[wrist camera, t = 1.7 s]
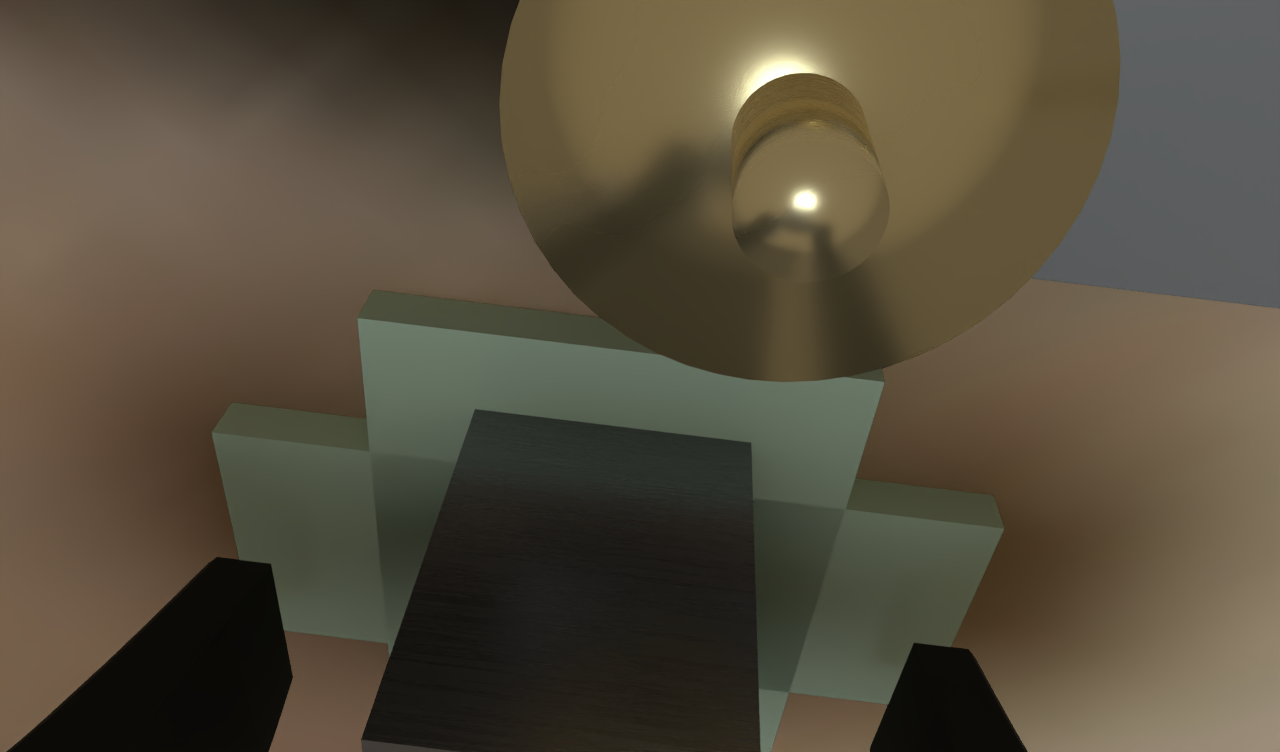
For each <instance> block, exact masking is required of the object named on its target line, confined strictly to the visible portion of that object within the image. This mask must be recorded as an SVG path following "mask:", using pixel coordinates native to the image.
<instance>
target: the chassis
mask: <svg viewBox="0 0 1280 752" xmlns="http://www.w3.org/2000/svg"><path fill="white" fill-rule="evenodd" d="M499 105H500V122H501V140H502V146H503V151H504V156H505V161H506V166H507V171H508V176H509V179H510V182H511V185H512V188H513V191H514V194H515V197H516V200H517V203H518V206H519V209H520V212H521V214H522V216H523V218H524V220H525V222H526V224H527V226H528V228H529V230H530V232H531V234H532V236H533V238H534V240H535V242H536V244H537V245H538V247H539V248H540V250H541V251H542V253H543V254H544V256H545V257H546V259H547V260H548V262H549V263H550V265H551V266H552V268H553V269H554V271H555V272H556V273H557V274H558V275H559V276H560V278H561V279H562V280H563V281H564V282H565V284H566V285H567V286H568V287H569V288H570V289H571V291H572V292H573V293H574V294H575V295H576V296H577V297H578V298H579V299H580V300H581V301H582V302H584V303H585V304H586V305H587V306H588V307H589V308H590V309H591V310H592V311H593V312H594V313H595V314H597V315H598V316H599V317H600V318H601V319H603V320H604V321H606V322H607V323H608V324H610V325H611V326H612V327H614V328H615V329H617V330H618V331H619V332H621V333H622V334H624V335H625V336H626V337H628V338H630V339H632V340H634V341H635V342H637V343H639V344H641V345H643V346H644V347H646V348H648V349H650V350H652V351H653V352H655V353H658V354H660V355H663V356H665V357H667V358H670V359H672V360H675V361H677V362H679V363H682V364H684V365H687V366H691V367H694V368H698V369H701V370H705V371H708V372H711V373H715V374H719V375H725V376H731V377H736V378H742V379H748V380H759V381H774V382H800V381H819V380H827V379H834V378H841V377H848V376H853V375H857V374H861V373H865V372H869V371H873V370H877V369H881V368H885V367H888V366H891V365H893V364H896V363H899V362H902V361H904V360H907V359H910V358H913V357H916V356H918V355H920V354H922V353H924V352H926V351H928V350H931V349H933V348H935V347H937V346H939V345H941V344H943V343H945V342H947V341H949V340H951V339H953V338H954V337H956V336H957V335H959V334H961V333H962V332H964V331H965V330H967V329H969V328H970V327H972V326H974V325H975V324H977V323H978V322H980V321H981V320H983V319H984V318H985V317H987V316H988V315H989V314H990V313H992V312H993V311H994V310H996V309H997V308H998V307H999V306H1001V305H1002V304H1003V303H1005V302H1006V301H1007V300H1008V299H1010V298H1011V297H1012V296H1013V295H1014V294H1015V293H1016V292H1017V291H1018V290H1019V289H1020V288H1021V287H1022V286H1023V285H1024V284H1025V283H1026V282H1027V281H1028V280H1029V279H1030V278H1033V279H1041V280H1050V281H1058V282H1066V283H1074V284H1083V285H1091V286H1099V287H1107V288H1116V289H1124V290H1132V291H1140V292H1148V293H1157V294H1165V295H1173V296H1181V297H1190V298H1198V299H1206V300H1214V301H1223V302H1231V303H1239V304H1247V305H1255V306H1264V307H1272V308H1280V0H520V1H519V4H518V7H517V10H516V12H515V15H514V18H513V21H512V23H511V27H510V31H509V36H508V41H507V45H506V50H505V55H504V59H503V64H502V76H501V89H500V102H499Z"/></svg>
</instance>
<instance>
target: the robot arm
mask: <svg viewBox="0 0 1280 752" xmlns="http://www.w3.org/2000/svg"><path fill="white" fill-rule="evenodd" d="M292 678H293V676H292V671H291V665H290V660H289V655H288V650H287V644H286V639H285V634H284V629H283V623H282V618H281V613H280V608H279V603H278V597H277V592H276V587H275V582H274V576H273V571H272V566H271V564H269V563H261V562H253V561H245V560H237V559H229V558H220V557H217V558H215V559H214V560H212V561H211V562H209V563H208V564H207V565H206V566H205V567H204V568H203V569H202V570H201V571H200V572H199V573H198V574H197V575H196V576H195V577H194V578H193V579H192V580H191V581H190V582H189V583H188V584H187V585H186V586H185V587H184V588H183V589H182V590H181V591H180V592H179V593H178V594H177V595H176V596H175V597H174V598H173V599H172V600H171V601H170V602H168V603H167V604H166V605H165V606H164V607H163V608H162V609H161V610H160V611H159V612H158V613H157V614H156V615H155V616H154V617H153V618H152V619H151V620H150V621H149V622H148V623H147V624H146V625H145V626H144V627H143V628H142V629H141V630H140V631H139V632H138V633H137V634H136V635H135V636H133V637H132V638H131V639H130V640H129V641H128V642H127V643H126V644H125V645H124V646H123V647H122V648H121V649H120V650H119V651H118V652H117V653H116V654H115V655H114V656H113V657H111V658H110V659H109V660H108V661H107V662H106V663H105V664H104V665H103V666H102V667H101V668H100V669H99V670H98V671H96V672H95V673H94V674H93V675H92V676H91V677H90V678H89V679H88V680H87V681H86V682H84V683H83V684H82V685H81V686H80V687H79V688H78V689H77V690H76V691H75V692H74V693H72V694H71V695H70V696H69V697H68V698H67V699H66V700H65V701H64V702H63V703H62V704H60V705H59V706H58V707H57V708H56V709H55V710H54V711H53V712H52V713H51V714H50V715H48V716H47V717H46V718H45V719H44V720H43V721H42V722H41V723H39V724H38V725H37V726H36V727H35V728H34V729H33V730H32V731H30V732H29V733H28V734H27V735H26V736H25V737H23V738H22V739H21V740H20V741H19V742H18V743H16V744H15V745H14V746H13V747H12V748H11V749H9V750H8V751H7V752H269V749H270V746H271V743H272V740H273V737H274V734H275V731H276V728H277V725H278V722H279V719H280V716H281V713H282V710H283V707H284V703H285V700H286V697H287V694H288V691H289V688H290V685H291V681H292ZM870 752H1027V750H1026V748H1025V746H1024V745H1023V743H1022V741H1021V740H1020V738H1019V736H1018V734H1017V732H1016V731H1015V729H1014V727H1013V725H1012V724H1011V722H1010V720H1009V718H1008V717H1007V715H1006V713H1005V711H1004V709H1003V708H1002V706H1001V704H1000V702H999V700H998V699H997V697H996V695H995V693H994V691H993V689H992V688H991V686H990V684H989V682H988V680H987V679H986V677H985V675H984V673H983V671H982V669H981V668H980V666H979V664H978V662H977V660H976V658H975V657H974V656H973V654H972V653H971V652H970V651H969V649H962V648H953V647H945V646H937V645H929V644H921V643H913V646H912V648H911V651H910V653H909V656H908V658H907V660H906V663H905V665H904V668H903V670H902V672H901V675H900V677H899V680H898V682H897V684H896V687H895V689H894V692H893V694H892V697H891V699H890V701H889V704H888V706H887V709H886V711H885V713H884V716H883V718H882V721H881V723H880V725H879V728H878V730H877V733H876V735H875V738H874V740H873V742H872V745H871V747H870Z"/></svg>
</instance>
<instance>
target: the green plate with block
mask: <svg viewBox="0 0 1280 752" xmlns="http://www.w3.org/2000/svg"><path fill="white" fill-rule="evenodd" d="M357 320H358V331H359V342H360V353H361V363H362V374H363V385H364V395H365V406H366V417H367V419H364V418H356V417H348V416H340V415H332V414H323V413H315V412H307V411H299V410H291V409H282V408H274V407H266V406H258V405H250V404H241V403H233V402H232V403H231V404H230V406H229V407H228V409H227V410H226V412H225V413H224V415H223V416H222V418H221V419H220V420H219V422H218V423H217V425H216V426H215V428H214V429H213V431H212V437H213V442H214V446H215V451H216V455H217V460H218V465H219V469H220V474H221V478H222V483H223V487H224V492H225V497H226V501H227V506H228V510H229V515H230V519H231V524H232V529H233V533H234V538H235V542H236V547H237V551H238V556H239V560H245V561H253V562H261V563H269V564H271V566H272V571H273V576H274V582H275V587H276V592H277V597H278V603H279V608H280V613H281V618H282V623H283V629H284V631H290V632H298V633H306V634H314V635H323V636H331V637H339V638H347V639H355V640H363V641H372V642H380V643H388V652H389V660H388V663H387V666H386V669H385V672H384V675H383V678H382V681H381V684H380V686H379V689H378V692H377V695H376V698H375V701H374V704H373V707H372V710H371V713H370V716H369V718H368V721H367V724H366V727H365V730H364V733H363V736H362V739H361V742H362V750H363V752H771V750H772V746H773V743H774V740H775V737H776V733H777V730H778V727H779V724H780V720H781V717H782V714H783V711H784V707H785V704H786V701H787V698H788V694H789V693H797V694H805V695H813V696H822V697H830V698H838V699H846V700H854V701H862V702H871V703H879V704H887V705H888V704H889V701H890V699H891V697H892V694H893V692H894V689H895V687H896V684H897V682H898V680H899V677H900V675H901V672H902V670H903V668H904V665H905V663H906V660H907V658H908V656H909V653H910V651H911V648H912V646H913V643H921V644H929V645H937V646H945V647H951V646H952V644H953V642H954V639H955V637H956V635H957V633H958V630H959V628H960V626H961V624H962V622H963V619H964V617H965V615H966V613H967V611H968V608H969V606H970V604H971V602H972V599H973V597H974V595H975V593H976V591H977V588H978V586H979V584H980V582H981V580H982V577H983V575H984V573H985V571H986V568H987V566H988V564H989V562H990V560H991V557H992V555H993V553H994V551H995V548H996V546H997V544H998V542H999V540H1000V537H1001V535H1002V533H1003V531H1004V526H1003V523H1002V520H1001V517H1000V514H999V511H998V507H997V504H996V501H995V498H994V495H987V494H979V493H971V492H963V491H954V490H946V489H938V488H930V487H922V486H913V485H905V484H897V483H889V482H881V481H872V480H864V479H856V478H855V477H856V474H857V471H858V467H859V464H860V461H861V458H862V454H863V451H864V448H865V445H866V441H867V438H868V435H869V432H870V428H871V425H872V422H873V419H874V415H875V412H876V409H877V406H878V402H879V399H880V396H881V393H882V389H883V386H884V383H885V381H884V376H883V372H882V368H881V369H877V370H873V371H869V372H865V373H861V374H857V375H853V376H848V377H841V378H834V379H827V380H819V381H800V382H774V381H759V380H748V379H742V378H736V377H731V376H725V375H719V374H715V373H711V372H708V371H705V370H701V369H698V368H694V367H691V366H687V365H684V364H682V363H679V362H677V361H675V360H672V359H670V358H667V357H665V356H663V355H660V354H658V353H655V352H653V351H652V350H650V349H648V348H646V347H644V346H643V345H641V344H639V343H637V342H635V341H634V340H632V339H630V338H628V337H626V336H625V335H624V334H622V333H621V332H619V331H618V330H617V329H615V328H614V327H612V326H611V325H610V324H608V323H607V322H606V321H604V320H603V319H601V318H599V317H591V316H582V315H574V314H566V313H558V312H549V311H541V310H533V309H525V308H516V307H508V306H500V305H492V304H484V303H475V302H467V301H459V300H451V299H442V298H434V297H426V296H418V295H410V294H401V293H393V292H385V291H377V290H373V292H372V293H371V295H370V297H369V299H368V300H367V302H366V304H365V306H364V307H363V309H362V311H361V313H360V314H359V316H358V318H357Z"/></svg>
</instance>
